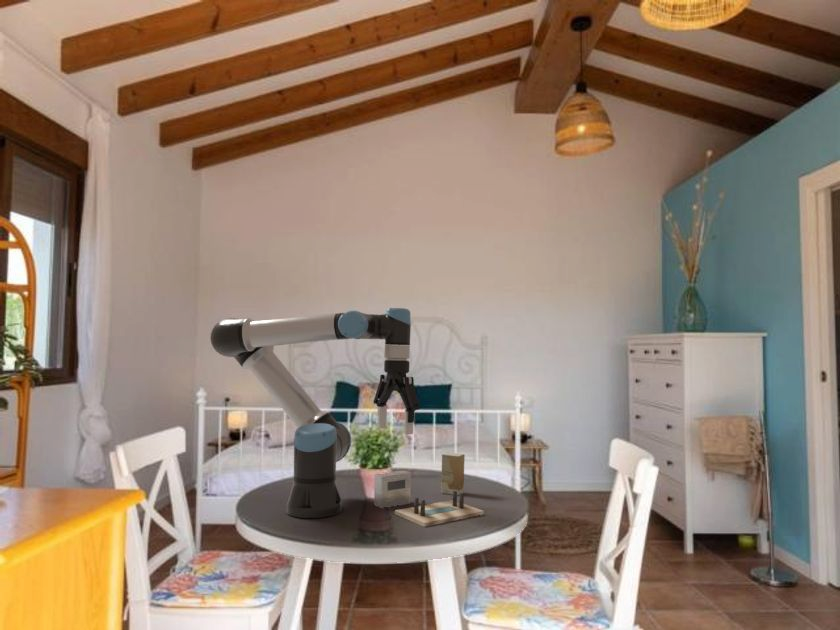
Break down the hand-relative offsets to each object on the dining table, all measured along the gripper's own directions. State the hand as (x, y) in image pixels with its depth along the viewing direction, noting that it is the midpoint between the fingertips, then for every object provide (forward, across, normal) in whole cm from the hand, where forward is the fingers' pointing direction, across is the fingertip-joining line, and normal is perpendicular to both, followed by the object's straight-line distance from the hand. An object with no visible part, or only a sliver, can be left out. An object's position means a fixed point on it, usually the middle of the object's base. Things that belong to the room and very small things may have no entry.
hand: (394, 431), depth 177 cm
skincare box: (+21, -3, -21) cm, 30 cm away
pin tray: (+20, -19, -2) cm, 28 cm away
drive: (+21, -2, +2) cm, 21 cm away
